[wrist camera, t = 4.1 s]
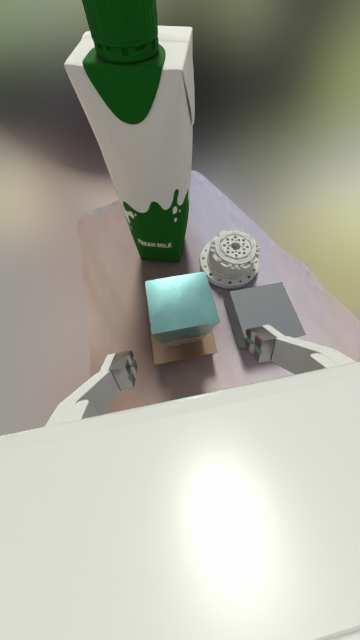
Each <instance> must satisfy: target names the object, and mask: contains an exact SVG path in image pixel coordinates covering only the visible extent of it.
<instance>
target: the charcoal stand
mask: <svg viewBox="0 0 360 640" xmlns="http://www.w3.org/2000/svg"><path fill="white" fill-rule="evenodd" d="M224 303H225V306H226V310H227V313H228V316H229V319H230V323H231V326H232V329H233V332H234V336H235V339H236V342H237V346H238V349H241V348H246V346H245V339H246V337H247V335H246V330H247V329H249V328H254V327H259V326H263V325H270V326H272V327H273V328H274V329H276V330H277V331H279V332H280V333H281V334H283V335H284V336H289V337H293V338H295V337H299V336H303V335H306V334H305V332H304V330H303V328H302V325H301V323H300V321H299V319H298V317H297V314H296V312H295V310H294V308H293V306H292V303H291V301H290V299H289V297H288V295H287V292H286V290H285V288H284V286H283V284H282V282H281V283H275V284H269V285H264V286H258V287H252V288H246V289H241V290H235V291H230V292H229V293H228V295H227V296H226V298H225V299H224Z"/></svg>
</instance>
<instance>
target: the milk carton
mask: <svg viewBox="0 0 360 640" xmlns="http://www.w3.org/2000/svg"><path fill="white" fill-rule="evenodd" d="M82 2H83V6H84V10H85V13H86V17H87V21H88V25H89V29H90V31H88V32H85V33H84V35H83V37H82V40H81V42H80V43H79V44H78V46H77V47H76V48H75V49H74V51H73V52H72V53H71V55H70V56H69V57H68V59H67V60H66V62H65V64H64V66H65V70H66V72H67V74H68V76H69V78H70V81H71V83H72V85H73V87H74V89H75V91H76V94H77V96H78V98H79V100H80V103H81V105H82V107H83V109H84V111H85V113H86V116H87V118H88V121H89V123H90V125H91V127H92V130H93V132H94V134H95V136H96V139H97V141H98V144H99V146H100V148H101V151H102V154H103V157H104V159H105V162H106V165H107V168H108V170H109V173H110V176H111V178H112V181H113V184H114V187H115V189H116V192H117V195H118V198H119V200H120V203H121V206H122V209H123V211H124V214H125V217H126V219H127V222H128V225H129V228H130V230H131V233H132V236H133V239H134V241H135V244H136V246H137V249H138V252H139V254H140V257H141V259H144V260H155V261H167V262H178V263H179V262H180V257H181V252H182V247H183V243H184V238H185V233H186V227H187V221H188V212H189V196H190V178H191V158H192V125H193V123H194V111H195V110H194V109H195V107H194V104H195V103H194V76H193V60H192V27H175V26H158V25H157V12H156V0H82Z"/></svg>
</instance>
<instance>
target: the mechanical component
mask: <svg viewBox="0 0 360 640" xmlns="http://www.w3.org/2000/svg"><path fill="white" fill-rule="evenodd" d="M258 245H259V243H258V242H256V241H255V240H254V239H253V238H252V235H251V234H249V235H248V234H246V233H244V232H242V230H241V229H239V230H238V231H237V230H236V229H235V228H234V229H233V230H231V229H227V231H223V232H221V233H220V232H219V233H218V234H217V235H216V236H215V237H214V238H213V240H212V241H210V242H209V243H208V244H207V245H206V246H205V247H204V248H203V250H202V252H201V256H200V269H201V272H204V271H206V275H207V278H208V281H209V282H210V283H212V284H214V285H215V286H218V287H221V288H224V289H236V288H240V287H242V286H245V285H246V284H247V283H249V282H250V281H251V280H252V279H253V278H254V276H255V275H256V273H257V271H258V267H259V260H258V256H259V254H260V253H259V250H260V248H259V247H258Z"/></svg>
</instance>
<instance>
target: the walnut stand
mask: <svg viewBox="0 0 360 640" xmlns="http://www.w3.org/2000/svg"><path fill="white" fill-rule="evenodd" d="M147 311H148V319H149V326H150V334H151V341H152V349H153V356H154V364H155V365H160V364H165V363H170V362H175V361H180V360H185V359H190V358H195V357H200V356H205V355H210V354H214V353H217V349H216V345H215V342H214V338H213V334H212V331H211V332H210V333H208V335H207V336H206V337H205V338H204V340H203V341H198V342H193V343H188V344H183V345H177V346H172V347H167V348H164V347H163V346H162V345H161V344H160V343H159V341H158V340H157V339H156V338H155V337H154V336H153V335H152V331H151V323H150V316H149V309H148V306H147Z"/></svg>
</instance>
